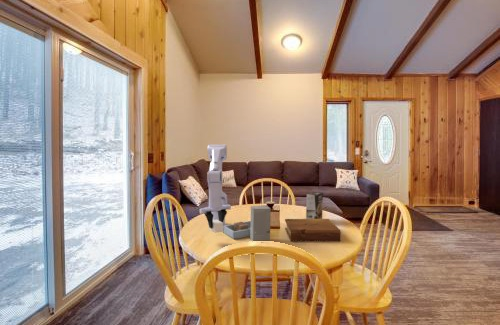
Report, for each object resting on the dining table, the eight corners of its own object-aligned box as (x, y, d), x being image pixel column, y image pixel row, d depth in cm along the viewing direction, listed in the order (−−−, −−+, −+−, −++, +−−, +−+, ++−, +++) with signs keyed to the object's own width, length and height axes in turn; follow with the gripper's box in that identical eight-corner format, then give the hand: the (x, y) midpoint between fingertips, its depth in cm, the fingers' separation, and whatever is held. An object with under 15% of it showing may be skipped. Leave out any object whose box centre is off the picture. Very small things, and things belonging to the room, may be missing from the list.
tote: (223, 232, 140) (223, 226, 139) (253, 226, 149) (253, 220, 149) (233, 239, 130) (233, 232, 130) (265, 232, 140) (265, 225, 140)
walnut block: (234, 231, 140) (234, 223, 140) (241, 230, 142) (241, 221, 142) (240, 235, 135) (240, 226, 135) (247, 233, 137) (247, 224, 137)
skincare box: (253, 243, 125) (253, 209, 124) (249, 238, 132) (249, 205, 131) (271, 242, 127) (271, 208, 126) (266, 236, 134) (266, 204, 133)
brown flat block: (290, 243, 128) (290, 230, 127) (284, 229, 146) (284, 219, 146) (340, 242, 128) (340, 230, 127) (328, 229, 147) (328, 218, 146)
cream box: (208, 229, 127) (208, 220, 127) (216, 227, 129) (216, 219, 129) (214, 232, 122) (214, 224, 122) (222, 231, 124) (222, 222, 124)
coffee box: (316, 224, 154) (316, 195, 152) (305, 221, 158) (306, 193, 156) (322, 220, 161) (323, 192, 159) (312, 218, 165) (312, 191, 163)
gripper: (203, 201, 117) (204, 232, 118) (233, 197, 125) (234, 226, 126) (197, 197, 123) (198, 227, 124) (226, 194, 131) (226, 222, 132)
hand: (215, 226), depth 125 cm, fingers closed on cream box, 4 cm apart
